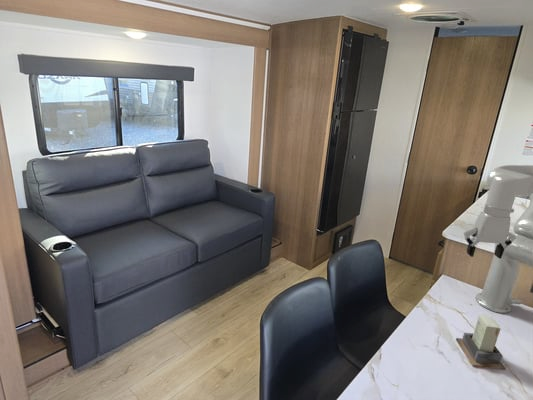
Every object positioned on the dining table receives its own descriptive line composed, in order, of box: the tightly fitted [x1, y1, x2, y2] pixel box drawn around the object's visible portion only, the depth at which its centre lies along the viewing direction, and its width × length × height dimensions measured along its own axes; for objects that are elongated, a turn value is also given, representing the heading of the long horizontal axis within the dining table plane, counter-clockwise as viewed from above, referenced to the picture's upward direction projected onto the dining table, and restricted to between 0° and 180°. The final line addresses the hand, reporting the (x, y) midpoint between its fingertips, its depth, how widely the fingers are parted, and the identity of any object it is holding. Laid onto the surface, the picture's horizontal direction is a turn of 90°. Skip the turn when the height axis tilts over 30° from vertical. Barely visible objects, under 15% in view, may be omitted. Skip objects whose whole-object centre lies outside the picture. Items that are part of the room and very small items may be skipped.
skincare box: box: [472, 314, 501, 353], centre depth 114 cm, size 6×4×12 cm
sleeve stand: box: [455, 332, 506, 371], centre depth 116 cm, size 10×12×4 cm
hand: (483, 255), depth 124 cm, fingers open, 9 cm apart
